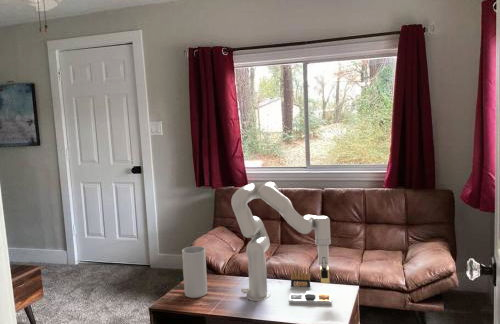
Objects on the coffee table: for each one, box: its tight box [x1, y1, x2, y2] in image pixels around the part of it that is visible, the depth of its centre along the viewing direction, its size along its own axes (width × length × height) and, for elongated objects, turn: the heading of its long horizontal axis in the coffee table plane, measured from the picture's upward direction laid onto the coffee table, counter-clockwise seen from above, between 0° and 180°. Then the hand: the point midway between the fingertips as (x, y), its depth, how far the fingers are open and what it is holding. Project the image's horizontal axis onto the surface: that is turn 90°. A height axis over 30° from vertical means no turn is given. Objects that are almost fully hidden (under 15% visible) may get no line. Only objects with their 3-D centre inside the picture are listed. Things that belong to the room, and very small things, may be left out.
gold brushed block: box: [319, 265, 331, 284], centre depth 216 cm, size 4×4×7 cm
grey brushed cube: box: [305, 290, 315, 300], centre depth 219 cm, size 4×4×4 cm
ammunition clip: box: [290, 266, 311, 288], centre depth 238 cm, size 11×2×12 cm, turn 81°
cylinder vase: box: [181, 245, 208, 299], centre depth 235 cm, size 12×12×25 cm
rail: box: [288, 293, 332, 306], centre depth 219 cm, size 21×8×3 cm, turn 81°
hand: (324, 275), depth 216 cm, fingers closed on gold brushed block, 4 cm apart
